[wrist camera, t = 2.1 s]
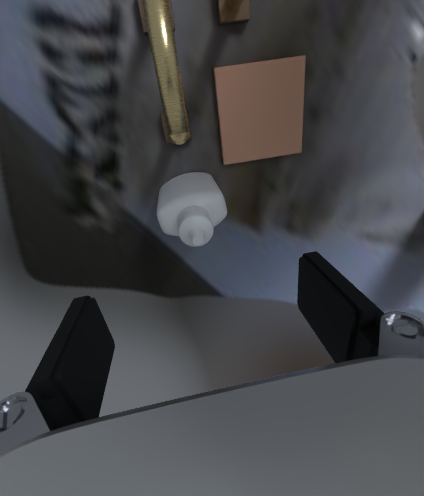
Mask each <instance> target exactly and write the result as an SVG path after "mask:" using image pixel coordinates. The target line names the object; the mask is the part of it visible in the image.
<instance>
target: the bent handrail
mask: <svg viewBox="0 0 424 496" xmlns="http://www.w3.org/2000/svg"><path fill="white" fill-rule="evenodd" d="M137 1H138V6H139V11H140V16H141V21H142V26H143V31H144V34H145V35H149V41H150V46H151V51H152V56H153V61H154V66H155V71H156V76H157V82H158V87H159V92H160V97H161V102H162V107H163V112H164V114H160V115H161V120H162V125H163V130H164V135H165V140H166V143H171V142H173V143H174V144H177V145H181V144H184V143H185V142H186V141H187V140H191V139H192V136H191V130H190V124H189V117H188V111H187V110H186V109H185V102H184V96H183V90H182V83H181V77H180V70H179V64H178V58H177V51H176V45H175V39H174V32H173V31H175V26H174V20H173V13H172V7H171V0H137ZM217 11H218V23H219V26H220V25H228V24H236V23H244V22H248V21H249V20H250V1H249V0H217Z"/></svg>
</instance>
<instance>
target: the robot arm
mask: <svg viewBox="0 0 424 496" xmlns="http://www.w3.org/2000/svg"><path fill="white" fill-rule="evenodd" d="M297 303H298V307H299V309H300V311H301V313H302V314H303V316H304V317H305V319H306V320H307V321H308V323H309V324H310V326H311V327H312V329H313V330H314V332H315V333H316V335H317V336H318V338H319V339H320V341H321V342H322V344H323V345H324V346H325V348H326V350H327V351H328V353H329V354H330V356H331V357H332V359H333V360H334V362H335V364H330V365H325V366H320V367H316V368H311V369H307V370H302V371H297V372H293V373H288V374H284V375H280V376H275V377H270V378H266V379H262V380H257V381H253V382H248V383H244V384H239V385H235V386H231V387H226V388H222V389H217V390H213V391H209V392H205V393H200V394H196V395H192V396H187V397H182V398H178V399H174V400H170V401H165V402H161V403H157V404H152V405H148V406H144V407H140V408H135V409H131V410H127V411H123V412H118V413H115V414H110V415H106V416H102V417H99V413H100V408H101V404H102V400H103V395H104V391H105V387H106V383H107V379H108V374H109V370H110V366H111V361H112V357H113V353H114V348H115V346H114V345H115V344H114V340H113V338H112V336H111V333H110V331H109V329H108V327H107V324H106V322H105V320H104V317H103V315H102V313H101V311H100V309H99V306H98V304H97V302H96V300H95V299H94V298H91V297H90V296H83V297H78V298H74V299H73V301H72V303H71V305H70V307H69V308H68V310H67V312H66V314H65V316H64V318H63V320H62V322H61V324H60V326H59V328H58V330H57V331H56V333H55V335H54V337H53V339H52V341H51V343H50V345H49V347H48V348H47V350H46V352H45V354H44V356H43V358H42V360H41V362H40V364H39V366H38V367H37V369H36V371H35V373H34V375H33V377H32V379H31V381H30V383H29V385H28V387H27V389H26V390H25V392H18V393H15V394H12V395H10V396H8V397H6V398H4V399H3V400H1V401H0V496H424V321H423V320H421V319H420V318H418V317H416V316H414V315H411V314H408V313H405V312H398V311H394V312H388V313H385V314H384V313H383V312H382V311H381V310H380V309H379V308H378V307H377V306H376V305H375V304H374V303H372V302H371V301H370V300H369V299H368V298H367V297H366V296H365V295H364V294H363V293H362V292H360V291H359V290H358V289H357V288H356V287H355V286H354V285H353V284H352V283H351V282H350V281H348V280H347V279H346V278H345V277H344V276H343V275H342V274H341V273H340V272H339V271H338V270H336V269H335V268H334V267H333V266H332V265H331V264H330V263H329V262H328V261H327V260H326V259H324V258H323V257H322V256H321V255H320V254H319V253H318V252H310V253H305V254H303V256H302V257H300V259H299V275H298V301H297Z"/></svg>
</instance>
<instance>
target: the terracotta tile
mask: <svg viewBox="0 0 424 496" xmlns="http://www.w3.org/2000/svg"><path fill="white" fill-rule="evenodd" d="M305 60H306V55H303V56H296V57H288V58H281V59H274V60H267V61H259V62H252V63H245V64H238V65H230V66H223V67H216V68H214V69H213V70H214V80H215V89H216V99H217V109H218V118H219V128H220V138H221V147H222V157H223V164H224V165H228V164H234V163H240V162H246V161H252V160H258V159H265V158H271V157H277V156H283V155H289V154H295V153H302V131H303V108H304V84H305Z"/></svg>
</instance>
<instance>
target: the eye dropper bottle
mask: <svg viewBox="0 0 424 496" xmlns="http://www.w3.org/2000/svg"><path fill="white" fill-rule="evenodd" d="M226 215H227V208H226V203H225V199H224V196H223V194H222V192H221V190H220V189H219V187H218V185H217V184H216V182H215V181H214V179H213V177H212V176H211V175H210V174H208V173H203V172H191V173H185V174H182V175H179V176H176V177H174V178H172V179H171V180H169V181H168V182H166V183H165V184H164V185H163V186H162V187H161V188H160V190H159V197H158V204H157V218H158V221H159V224H160V226H161V229H162V231H163V232H164V233H166V234H168V235H172V236H179V237H180V238H181V240H182V241H183V242H184V243H185V244H187V245H189V246H192V247H193V246H194V247H198V246H202V245H205V244H206V243H207V242H209V240H210V239H211V238H212V235H213V231H214V229H213V227H215V226H216V225H218V224H219V223H220V222H221V221H222V220H223V219H224V218H225V217H226Z"/></svg>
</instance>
